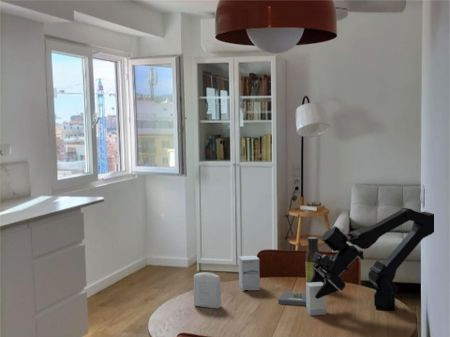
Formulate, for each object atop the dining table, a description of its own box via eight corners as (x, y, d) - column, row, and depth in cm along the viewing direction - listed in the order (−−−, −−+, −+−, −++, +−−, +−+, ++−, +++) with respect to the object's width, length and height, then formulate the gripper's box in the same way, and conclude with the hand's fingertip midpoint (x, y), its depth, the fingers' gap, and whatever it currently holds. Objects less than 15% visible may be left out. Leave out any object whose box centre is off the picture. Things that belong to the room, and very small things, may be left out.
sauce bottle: (322, 289, 208) (321, 239, 207) (306, 289, 209) (304, 239, 208) (321, 284, 215) (320, 236, 213) (306, 284, 216) (305, 236, 214)
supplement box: (241, 291, 209) (241, 260, 208) (239, 286, 216) (238, 255, 215) (260, 290, 210) (259, 258, 209) (256, 285, 217) (256, 254, 216)
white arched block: (223, 305, 193) (221, 272, 192) (218, 309, 189) (217, 275, 188) (197, 302, 197) (196, 270, 196) (192, 306, 193) (191, 273, 192)
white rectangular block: (321, 310, 185) (321, 281, 184) (325, 314, 180) (325, 285, 180) (306, 311, 184) (305, 282, 183) (310, 315, 180) (309, 286, 179)
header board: (316, 297, 198) (316, 289, 198) (311, 306, 189) (311, 297, 189) (284, 295, 203) (284, 287, 202) (278, 303, 193) (278, 295, 193)
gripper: (317, 239, 190) (288, 271, 190) (335, 250, 172) (303, 286, 171) (339, 259, 192) (310, 291, 191) (359, 272, 173) (327, 308, 173)
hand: (311, 293), depth 181 cm, fingers open, 9 cm apart
